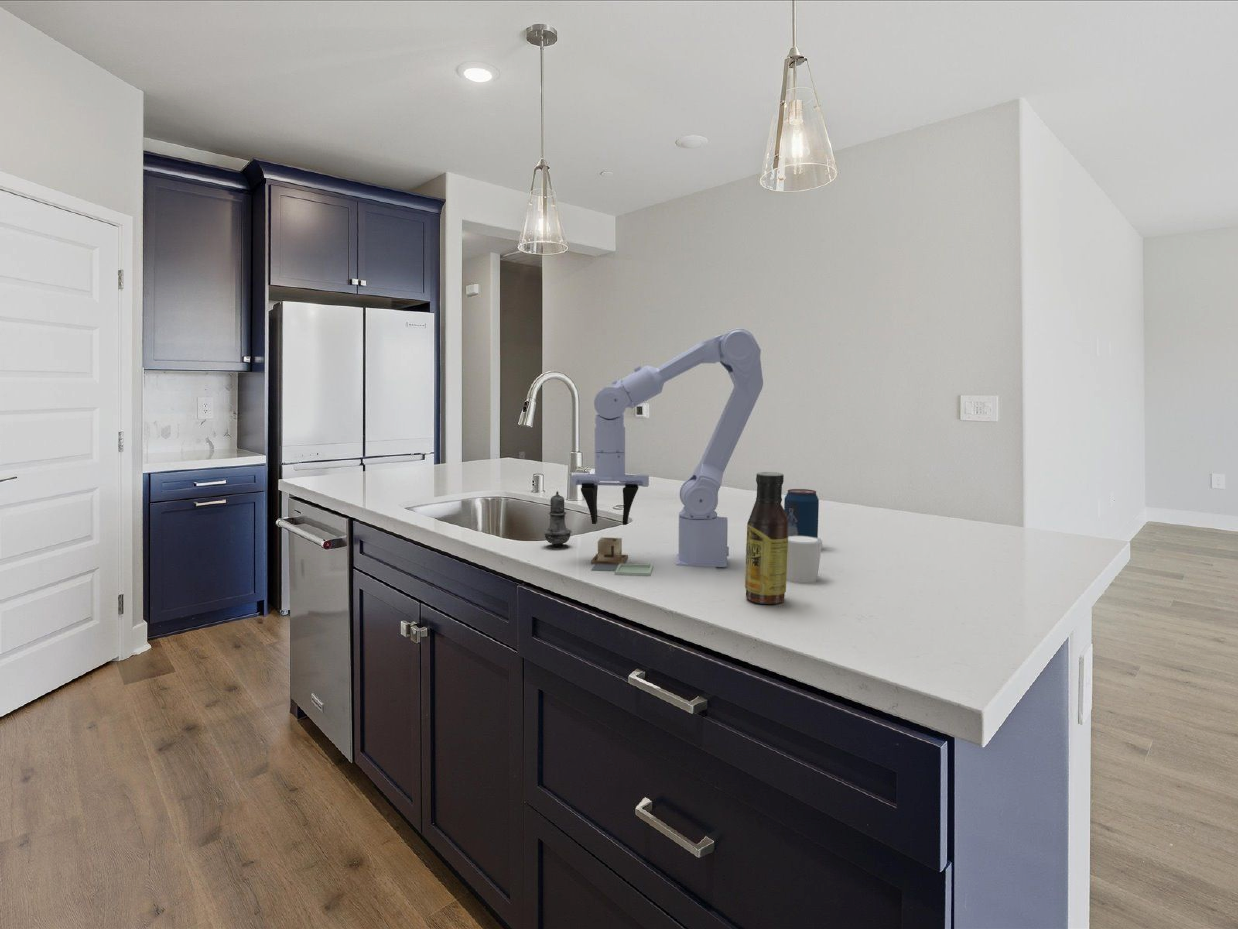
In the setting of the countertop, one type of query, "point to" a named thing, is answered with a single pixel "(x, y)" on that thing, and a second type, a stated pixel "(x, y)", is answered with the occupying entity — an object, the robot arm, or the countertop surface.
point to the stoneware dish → (634, 569)
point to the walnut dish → (595, 561)
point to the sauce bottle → (767, 542)
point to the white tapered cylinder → (803, 558)
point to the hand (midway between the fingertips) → (609, 523)
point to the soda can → (802, 512)
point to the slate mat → (604, 567)
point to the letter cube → (610, 549)
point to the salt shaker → (557, 524)
